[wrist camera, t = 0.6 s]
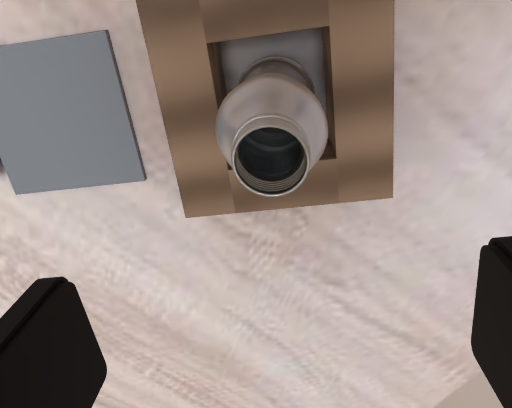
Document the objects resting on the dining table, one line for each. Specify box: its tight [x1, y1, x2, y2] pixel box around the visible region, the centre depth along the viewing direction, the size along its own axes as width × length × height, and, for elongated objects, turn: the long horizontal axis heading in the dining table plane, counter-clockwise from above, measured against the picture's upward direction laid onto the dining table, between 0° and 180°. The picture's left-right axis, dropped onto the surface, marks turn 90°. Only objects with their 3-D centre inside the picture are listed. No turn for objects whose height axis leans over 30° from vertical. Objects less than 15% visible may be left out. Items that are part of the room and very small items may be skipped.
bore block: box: [136, 0, 394, 218], centre depth 34 cm, size 18×18×6 cm
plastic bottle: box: [215, 56, 328, 197], centre depth 28 cm, size 6×7×20 cm
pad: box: [0, 30, 147, 195], centre depth 39 cm, size 14×14×1 cm
